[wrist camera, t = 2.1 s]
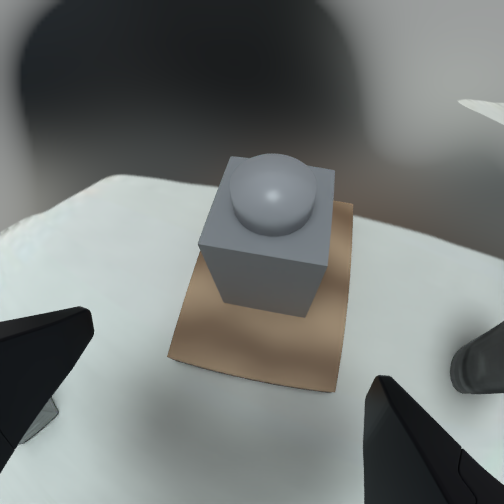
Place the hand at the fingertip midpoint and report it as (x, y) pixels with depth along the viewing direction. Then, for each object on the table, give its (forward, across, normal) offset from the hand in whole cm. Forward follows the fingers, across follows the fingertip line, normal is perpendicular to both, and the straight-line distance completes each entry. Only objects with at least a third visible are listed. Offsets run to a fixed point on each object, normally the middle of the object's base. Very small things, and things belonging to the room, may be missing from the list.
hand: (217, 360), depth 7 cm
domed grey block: (+14, 0, +3) cm, 14 cm away
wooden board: (+16, 0, +4) cm, 16 cm away
